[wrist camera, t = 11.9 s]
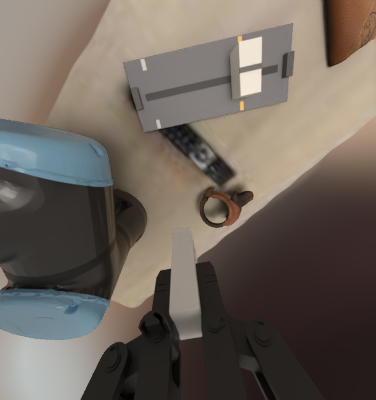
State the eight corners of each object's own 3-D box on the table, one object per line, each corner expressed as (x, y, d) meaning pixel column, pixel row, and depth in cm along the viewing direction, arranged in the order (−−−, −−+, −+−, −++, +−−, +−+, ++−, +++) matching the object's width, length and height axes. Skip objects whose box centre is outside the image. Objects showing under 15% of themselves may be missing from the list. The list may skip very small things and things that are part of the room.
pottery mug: (220, 224, 42) (210, 238, 34) (200, 195, 42) (187, 203, 35) (263, 202, 36) (262, 214, 28) (239, 168, 36) (233, 171, 29)
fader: (231, 99, 26) (240, 96, 23) (229, 54, 24) (238, 41, 20) (250, 95, 26) (261, 91, 23) (249, 49, 24) (262, 35, 20)
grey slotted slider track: (145, 131, 30) (142, 132, 27) (127, 67, 26) (120, 60, 23) (280, 102, 29) (291, 100, 26) (284, 30, 25) (298, 18, 22)
